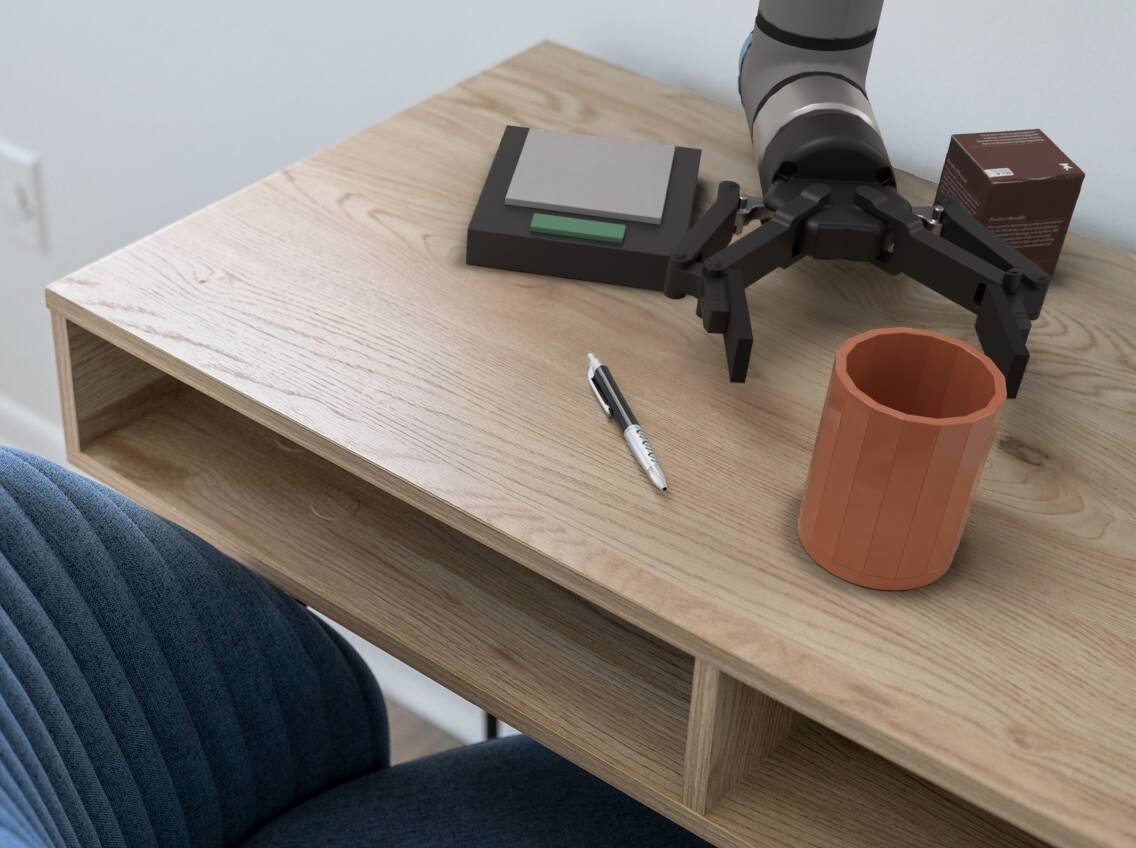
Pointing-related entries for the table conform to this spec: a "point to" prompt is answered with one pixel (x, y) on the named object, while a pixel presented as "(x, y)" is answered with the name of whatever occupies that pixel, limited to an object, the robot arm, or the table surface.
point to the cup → (899, 456)
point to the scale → (583, 207)
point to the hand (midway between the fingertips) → (878, 369)
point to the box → (1015, 189)
